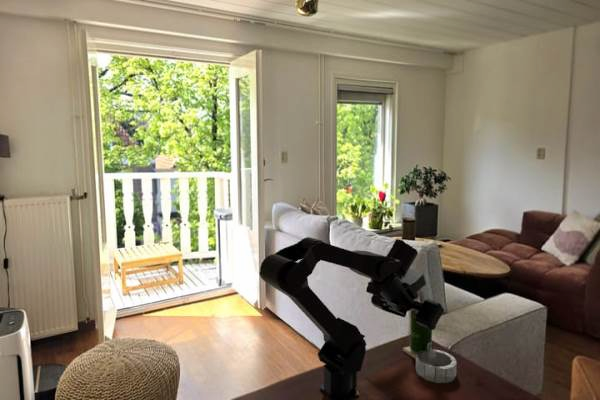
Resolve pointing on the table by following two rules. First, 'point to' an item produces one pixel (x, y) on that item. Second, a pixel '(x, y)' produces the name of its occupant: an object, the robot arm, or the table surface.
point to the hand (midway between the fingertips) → (419, 321)
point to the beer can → (419, 336)
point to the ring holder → (436, 373)
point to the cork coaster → (409, 352)
